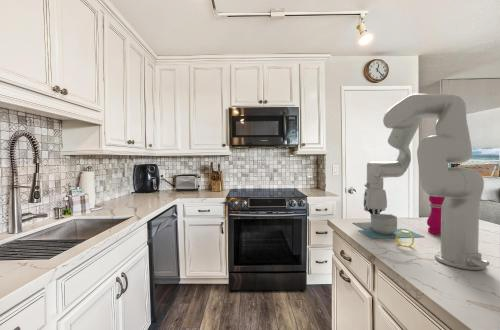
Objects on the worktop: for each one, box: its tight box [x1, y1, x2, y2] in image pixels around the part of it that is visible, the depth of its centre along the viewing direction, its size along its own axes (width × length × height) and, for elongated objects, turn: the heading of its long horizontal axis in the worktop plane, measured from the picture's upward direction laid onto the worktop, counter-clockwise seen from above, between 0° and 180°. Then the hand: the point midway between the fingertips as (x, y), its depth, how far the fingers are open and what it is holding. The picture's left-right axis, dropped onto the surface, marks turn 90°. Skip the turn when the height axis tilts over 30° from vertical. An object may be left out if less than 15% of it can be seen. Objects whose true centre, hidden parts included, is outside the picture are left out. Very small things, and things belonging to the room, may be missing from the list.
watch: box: [395, 230, 415, 248], centre depth 97 cm, size 6×3×6 cm, turn 52°
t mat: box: [352, 221, 425, 240], centre depth 119 cm, size 25×24×1 cm
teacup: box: [370, 213, 398, 235], centre depth 114 cm, size 14×11×8 cm
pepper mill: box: [426, 195, 445, 236], centre depth 113 cm, size 7×7×20 cm
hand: (374, 222), depth 124 cm, fingers closed
